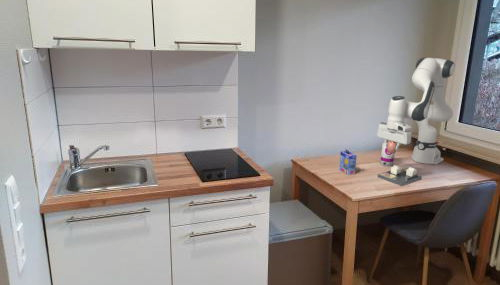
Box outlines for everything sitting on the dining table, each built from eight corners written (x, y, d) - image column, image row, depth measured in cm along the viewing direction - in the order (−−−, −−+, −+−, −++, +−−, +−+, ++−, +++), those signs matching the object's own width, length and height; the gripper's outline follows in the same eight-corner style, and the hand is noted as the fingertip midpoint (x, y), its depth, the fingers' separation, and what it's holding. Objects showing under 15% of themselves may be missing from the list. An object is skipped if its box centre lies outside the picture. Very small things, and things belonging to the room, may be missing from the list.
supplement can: (394, 167, 237) (397, 145, 233) (380, 166, 239) (383, 144, 235) (391, 163, 245) (394, 141, 241) (379, 162, 246) (381, 140, 242)
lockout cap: (390, 150, 215) (391, 139, 213) (397, 152, 211) (398, 141, 209) (385, 151, 212) (386, 140, 210) (392, 153, 209) (393, 142, 207)
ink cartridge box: (338, 169, 230) (340, 147, 226) (345, 168, 232) (348, 147, 228) (347, 175, 221) (349, 152, 217) (355, 174, 223) (357, 151, 219)
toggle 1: (394, 171, 222) (395, 164, 221) (400, 173, 219) (401, 166, 218) (390, 172, 220) (391, 165, 219) (396, 174, 217) (397, 167, 216)
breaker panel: (397, 171, 229) (397, 166, 228) (421, 179, 217) (421, 174, 216) (377, 177, 219) (378, 172, 218) (401, 185, 206) (401, 180, 205)
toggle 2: (409, 173, 219) (410, 166, 218) (416, 175, 216) (417, 168, 215) (405, 174, 217) (407, 167, 216) (412, 176, 214) (413, 169, 213)
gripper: (376, 122, 214) (373, 144, 218) (407, 129, 198) (404, 153, 201) (382, 120, 217) (380, 143, 221) (414, 127, 201) (410, 151, 205)
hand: (391, 148), depth 211 cm, fingers closed on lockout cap, 5 cm apart
